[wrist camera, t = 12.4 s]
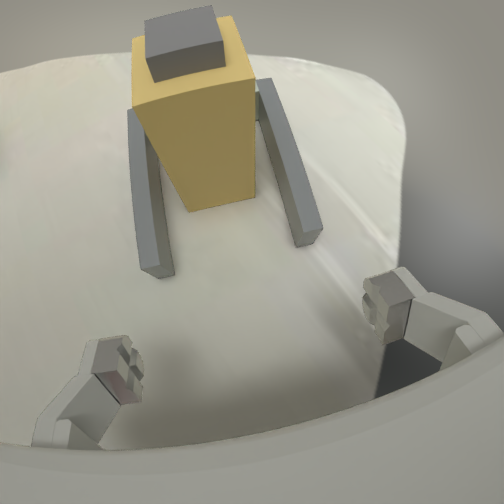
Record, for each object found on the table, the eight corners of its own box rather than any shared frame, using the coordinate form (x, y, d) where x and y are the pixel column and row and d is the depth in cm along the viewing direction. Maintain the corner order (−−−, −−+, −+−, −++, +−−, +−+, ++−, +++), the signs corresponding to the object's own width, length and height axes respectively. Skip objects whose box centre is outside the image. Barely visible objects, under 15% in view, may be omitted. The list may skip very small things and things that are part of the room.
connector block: (188, 212, 18) (120, 83, 8) (179, 156, 19) (124, 17, 8) (255, 197, 19) (255, 51, 8) (240, 142, 20) (229, -8, 9)
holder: (158, 278, 18) (140, 269, 15) (141, 135, 20) (127, 109, 17) (312, 243, 18) (323, 228, 15) (269, 106, 20) (271, 77, 17)
